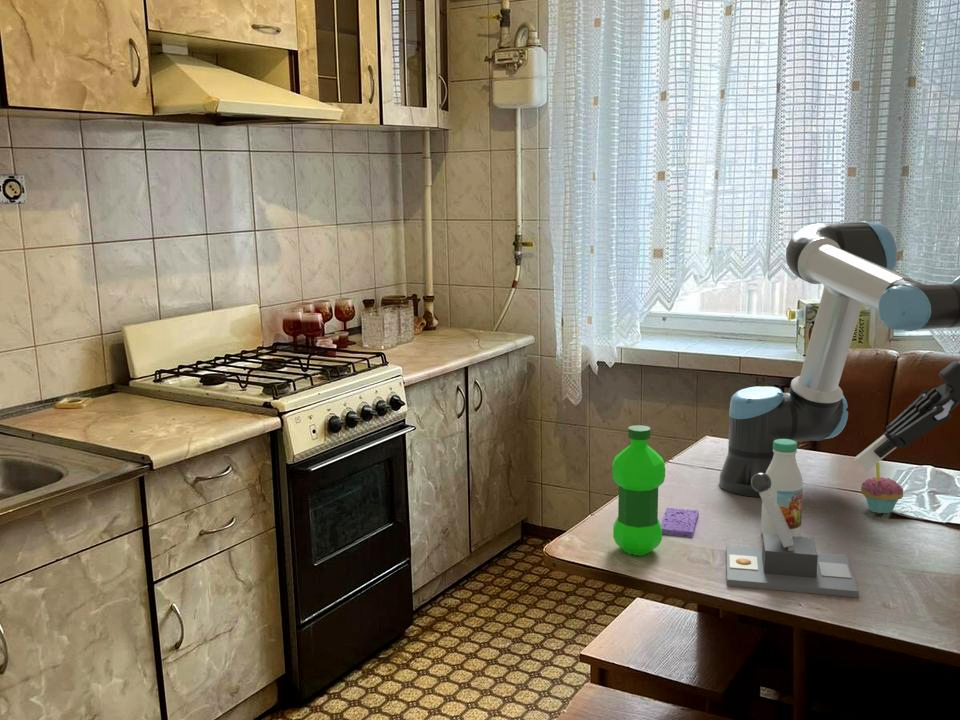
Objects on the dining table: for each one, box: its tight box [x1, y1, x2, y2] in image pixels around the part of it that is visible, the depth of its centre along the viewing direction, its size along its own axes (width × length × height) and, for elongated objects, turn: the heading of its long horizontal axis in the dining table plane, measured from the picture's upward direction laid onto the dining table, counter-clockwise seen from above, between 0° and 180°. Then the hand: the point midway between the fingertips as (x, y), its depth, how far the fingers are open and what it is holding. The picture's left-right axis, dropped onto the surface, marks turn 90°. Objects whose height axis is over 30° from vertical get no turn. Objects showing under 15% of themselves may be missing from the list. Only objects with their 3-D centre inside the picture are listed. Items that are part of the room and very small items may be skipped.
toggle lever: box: [751, 473, 794, 548], centre depth 167 cm, size 4×6×14 cm, turn 165°
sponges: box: [660, 507, 700, 538], centre depth 193 cm, size 7×13×2 cm, turn 162°
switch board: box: [725, 534, 859, 599], centre depth 168 cm, size 22×16×6 cm
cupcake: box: [860, 461, 904, 514], centre depth 198 cm, size 9×8×12 cm
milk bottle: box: [760, 439, 804, 537], centre depth 184 cm, size 8×8×20 cm
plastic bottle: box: [611, 424, 666, 556], centre depth 177 cm, size 10×10×25 cm
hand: (860, 464), depth 160 cm, fingers closed
